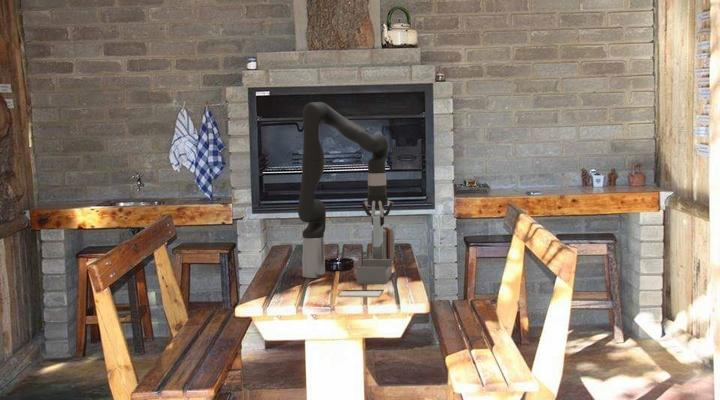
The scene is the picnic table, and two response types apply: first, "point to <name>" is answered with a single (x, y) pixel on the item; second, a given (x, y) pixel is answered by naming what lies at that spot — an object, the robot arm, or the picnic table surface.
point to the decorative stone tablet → (385, 246)
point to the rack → (374, 271)
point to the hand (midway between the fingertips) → (378, 225)
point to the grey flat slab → (377, 231)
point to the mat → (361, 293)
